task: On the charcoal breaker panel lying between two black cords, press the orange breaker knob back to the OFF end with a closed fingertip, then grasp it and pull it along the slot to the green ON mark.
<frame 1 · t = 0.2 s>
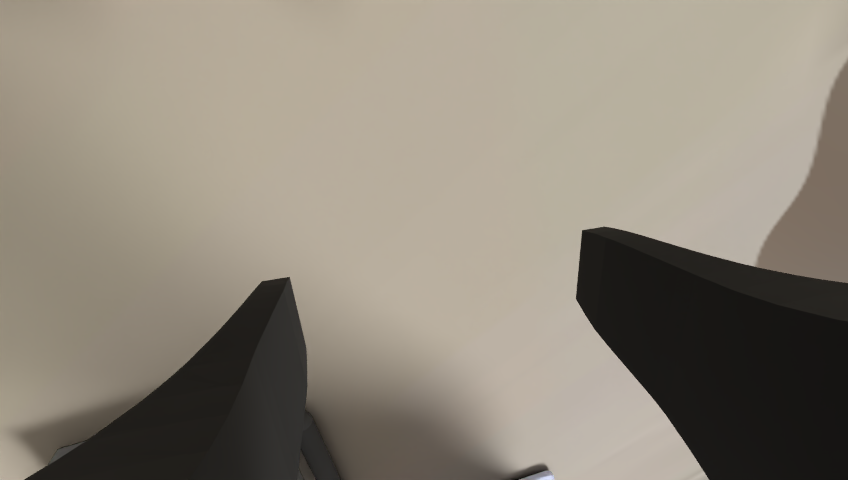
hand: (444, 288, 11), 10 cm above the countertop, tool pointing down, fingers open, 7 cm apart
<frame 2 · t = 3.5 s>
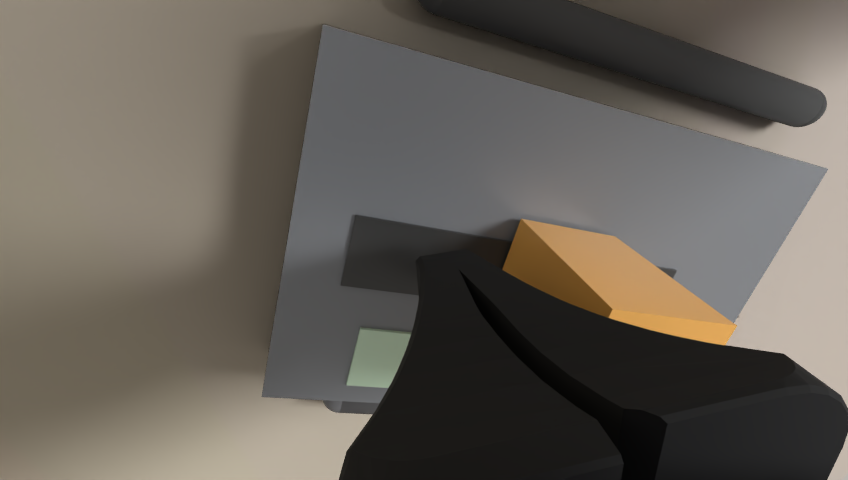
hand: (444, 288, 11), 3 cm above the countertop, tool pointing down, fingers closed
breaker knob: (585, 328, 11), point 4 cm above the countertop, slide at -0.8 cm, touching gripper
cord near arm: (632, 53, 13), on the countertop
breaker panel: (524, 250, 15), on the countertop
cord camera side: (494, 391, 18), on the countertop
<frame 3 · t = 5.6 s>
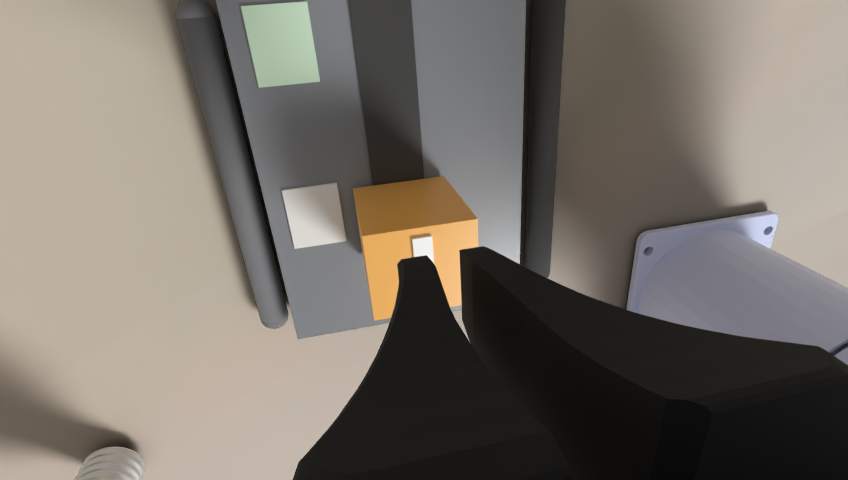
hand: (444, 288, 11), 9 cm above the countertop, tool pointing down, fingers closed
breaker knob: (412, 242, 16), point 4 cm above the countertop, slide at -3.5 cm
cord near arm: (536, 146, 20), on the countertop
lightbulb: (122, 451, 23), on the countertop
breaker panel: (388, 141, 19), on the countertop
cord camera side: (243, 183, 18), on the countertop
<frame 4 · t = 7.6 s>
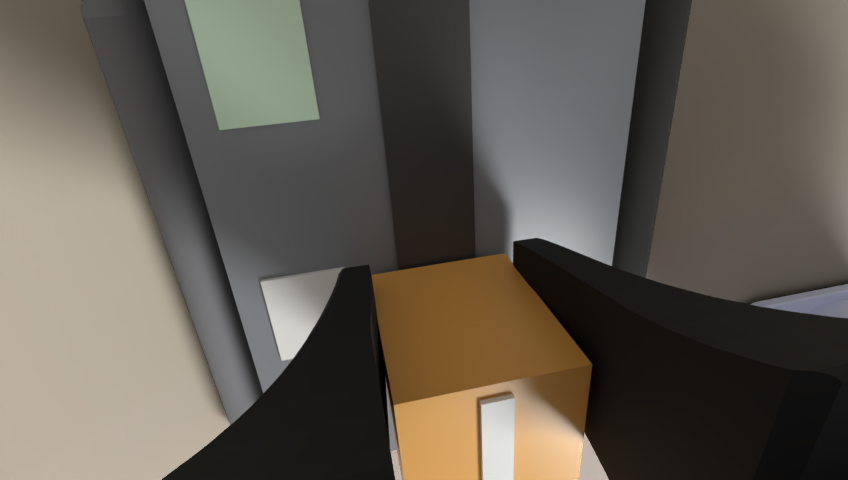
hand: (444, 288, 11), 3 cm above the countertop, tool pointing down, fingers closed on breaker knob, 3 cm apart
breaker knob: (464, 368, 10), point 4 cm above the countertop, slide at -3.5 cm, touching gripper
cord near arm: (623, 197, 14), on the countertop
breaker panel: (418, 195, 13), on the countertop
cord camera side: (207, 259, 13), on the countertop
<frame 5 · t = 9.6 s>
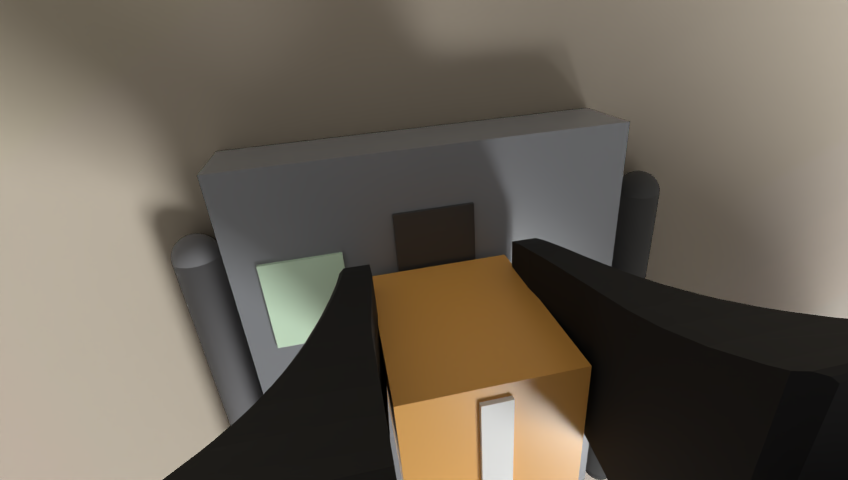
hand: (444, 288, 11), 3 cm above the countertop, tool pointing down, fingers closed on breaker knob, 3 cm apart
breaker knob: (464, 370, 10), point 4 cm above the countertop, slide at 2.0 cm, touching gripper
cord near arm: (605, 339, 17), on the countertop
breaker panel: (431, 350, 15), on the countertop
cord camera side: (254, 408, 15), on the countertop
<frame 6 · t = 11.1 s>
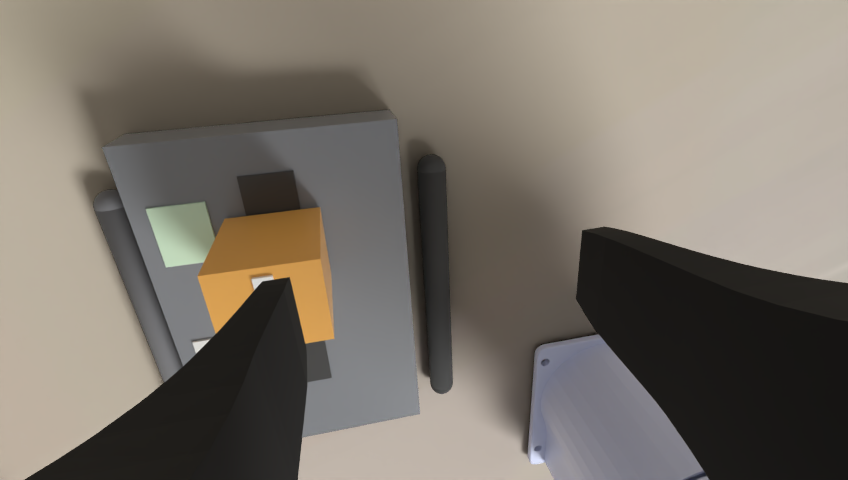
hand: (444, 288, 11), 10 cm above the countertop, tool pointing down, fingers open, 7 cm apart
breaker knob: (276, 275, 16), point 4 cm above the countertop, slide at 2.0 cm
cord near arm: (434, 282, 23), on the countertop
breaker panel: (296, 284, 21), on the countertop
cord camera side: (164, 323, 21), on the countertop
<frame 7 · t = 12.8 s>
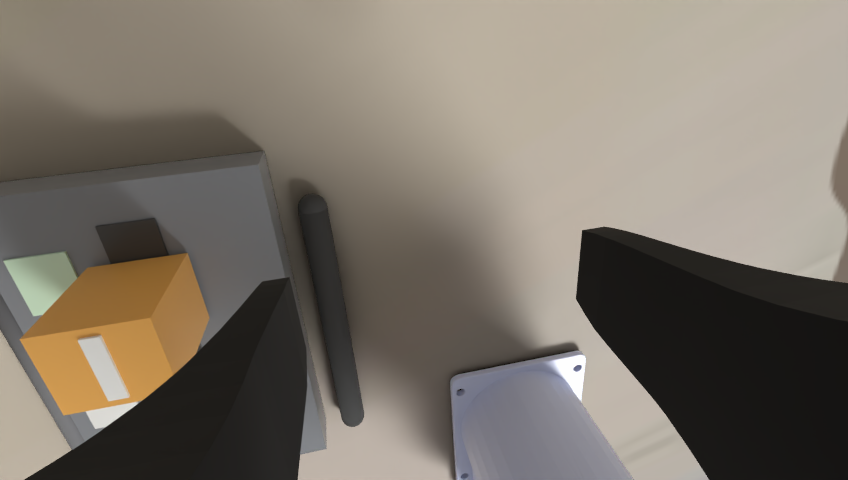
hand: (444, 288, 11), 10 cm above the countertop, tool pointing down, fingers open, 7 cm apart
breaker knob: (130, 327, 16), point 4 cm above the countertop, slide at 2.0 cm
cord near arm: (334, 316, 22), on the countertop
breaker panel: (189, 323, 21), on the countertop
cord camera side: (55, 365, 21), on the countertop
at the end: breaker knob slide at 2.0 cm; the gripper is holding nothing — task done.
